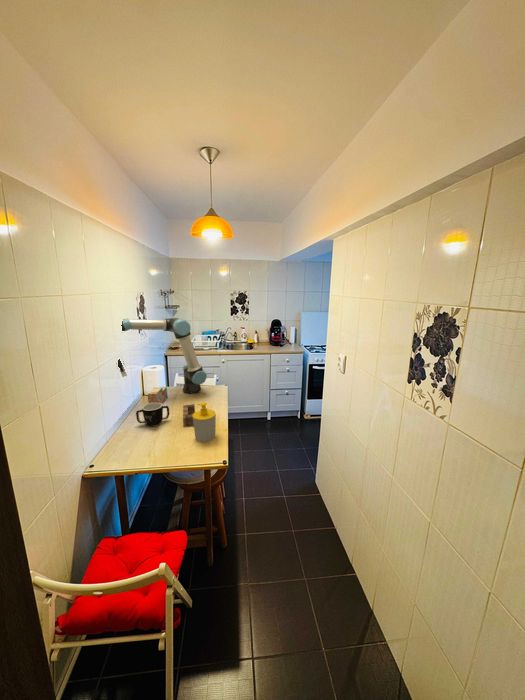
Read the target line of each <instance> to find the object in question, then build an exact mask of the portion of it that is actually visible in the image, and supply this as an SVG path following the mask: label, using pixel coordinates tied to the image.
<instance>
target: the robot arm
mask: <svg viewBox="0 0 525 700" xmlns="http://www.w3.org/2000/svg"><path fill="white" fill-rule="evenodd" d="M122 319H123V321H122V325H121V326H122V331H124V332H126V331H130V329H131V330H133V331H134V330H137V331H139V330H140V331H141V330H143V331H144V330H147V331H149V330H150V331H151V330H152V331H153V330H154V331H155V330H156V331H159V330H161V331H164V332H171V333H173V335H174V338H175V340H177V341H179V346H180V348H181V350H182V353H183V354H182V355H183V357H184V359H185V362H186V364H185V365H183V369H182V370H183V379H184V383H183V387H182V393H184V394H185V395H187V394H188V395H190V394H191V395H192V394H197V393H199V392H201V391H202V387H201V385H203V384H204V383H205V382H206V380H207V378H208V377H207V375H208V374H207V373H206V372H205V371H204V369H203V366H202V364H201V363H200V362H199V360H198V358H197V354H196V352H195V348H194V344H193V343H192V340H191V335H192V333H191V324H190V323H189V321H188V320H185V319H184V318H179V317H172V318H169V317H168V318H162V319H145V318H144V319H140V318H136V319H135V318H133V319H132V318H122ZM129 319H130V320H129ZM118 367H119V368H120V370H119V372H120V374H121V376H122V378H124V377H127V376H128V374H127V373H126V372H125V369H124V367H123V365H122V363H121V361H120V359H119V360H118ZM119 368H118V369H119Z"/></svg>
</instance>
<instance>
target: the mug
mask: <svg viewBox="0 0 525 700" xmlns="http://www.w3.org/2000/svg"><path fill="white" fill-rule="evenodd" d="M164 409H166V416H164V415H163V413H164ZM140 413H142V415H143V416H142V417H143V419H144V420H141V419H140ZM135 416H136V418H135V419H136V421H137V422H138V424H146V425H147V426H148V427H157V426H159V425H160V424H161V423H162V422H163V420H168V418H169V417H170V407H169V405H164V406H163V404H161V403H150V404H149V403H147V404H144V405H143V406H142V407H141V409H139V410H136V412H135Z"/></svg>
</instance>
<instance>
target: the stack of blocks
mask: <svg viewBox="0 0 525 700" xmlns="http://www.w3.org/2000/svg"><path fill="white" fill-rule="evenodd" d="M167 389H168V388H167V386H161V387H160V386H158V387H153V388H152V389H151V390H150V391H149V392H147V401H148V404H150V403H161V404H162V405H163V404H164V403H165V402H166V400H168V390H167Z"/></svg>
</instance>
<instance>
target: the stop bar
mask: <svg viewBox="0 0 525 700" xmlns="http://www.w3.org/2000/svg"><path fill="white" fill-rule="evenodd" d="M195 412H196V409H195V404H185V405H184V404H183V406H182V423H183V427H184V428H186V427H194V424H193V414H194V413H195Z"/></svg>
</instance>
